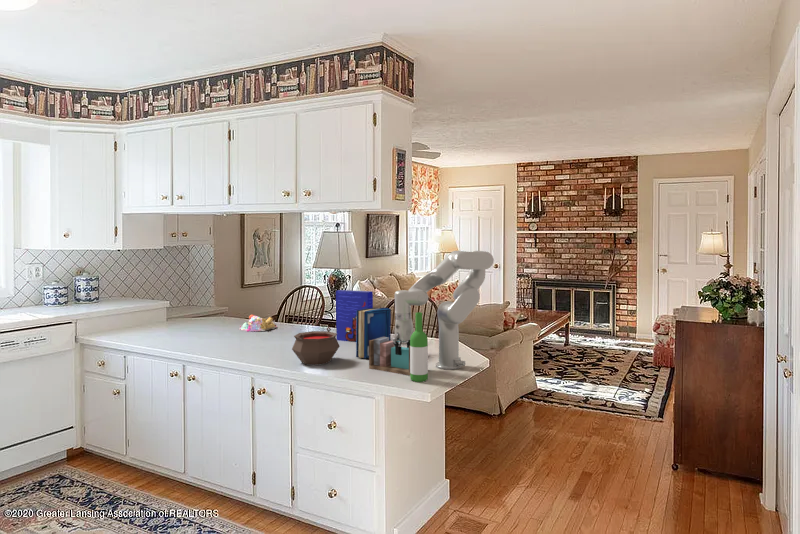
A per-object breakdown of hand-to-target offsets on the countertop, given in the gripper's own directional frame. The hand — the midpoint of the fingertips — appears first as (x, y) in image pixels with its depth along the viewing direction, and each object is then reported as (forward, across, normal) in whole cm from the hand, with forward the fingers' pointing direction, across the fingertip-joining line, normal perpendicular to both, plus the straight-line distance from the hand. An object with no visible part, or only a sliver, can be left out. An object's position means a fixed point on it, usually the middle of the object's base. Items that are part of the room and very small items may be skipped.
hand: (404, 352), depth 266 cm
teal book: (+7, 0, +1) cm, 7 cm away
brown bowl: (+8, -10, +47) cm, 49 cm away
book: (+8, +17, +31) cm, 37 cm away
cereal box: (+8, +41, +64) cm, 77 cm away
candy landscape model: (+7, +38, +145) cm, 150 cm away
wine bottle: (+9, -11, -15) cm, 21 cm away
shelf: (+8, -1, +4) cm, 9 cm away
